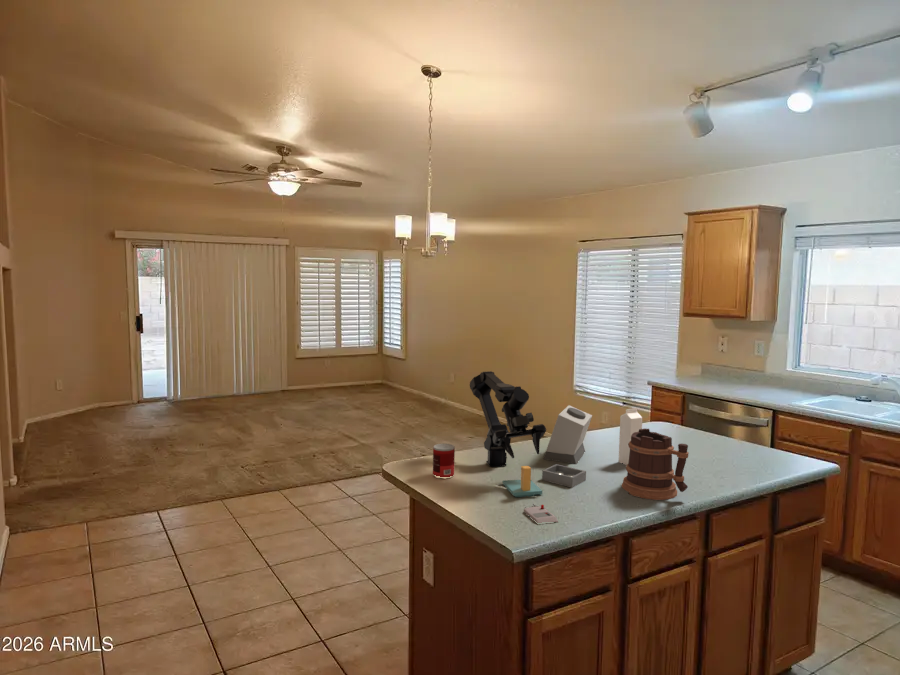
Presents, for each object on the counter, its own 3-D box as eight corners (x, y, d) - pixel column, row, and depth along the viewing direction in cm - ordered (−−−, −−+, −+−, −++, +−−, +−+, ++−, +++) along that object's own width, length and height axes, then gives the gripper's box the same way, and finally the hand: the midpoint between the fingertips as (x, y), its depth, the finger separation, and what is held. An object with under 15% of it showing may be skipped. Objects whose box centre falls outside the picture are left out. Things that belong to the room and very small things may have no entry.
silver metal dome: (562, 481, 203) (562, 476, 203) (568, 479, 206) (568, 473, 206) (572, 484, 201) (572, 478, 200) (578, 481, 204) (578, 476, 203)
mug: (671, 508, 182) (674, 446, 180) (610, 488, 199) (612, 431, 198) (700, 495, 194) (703, 437, 192) (640, 477, 211) (642, 424, 209)
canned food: (457, 474, 211) (458, 445, 210) (448, 480, 204) (448, 450, 203) (438, 471, 215) (439, 442, 214) (429, 477, 207) (429, 447, 206)
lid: (502, 486, 199) (503, 459, 198) (529, 484, 201) (530, 458, 201) (513, 498, 188) (514, 470, 187) (542, 496, 190) (543, 468, 189)
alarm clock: (554, 447, 249) (555, 401, 247) (590, 452, 243) (592, 405, 241) (542, 460, 230) (544, 410, 228) (582, 466, 224) (584, 414, 222)
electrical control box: (540, 529, 166) (541, 519, 165) (517, 509, 180) (518, 499, 180) (561, 526, 168) (561, 516, 167) (536, 507, 182) (537, 497, 182)
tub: (542, 481, 205) (542, 470, 205) (556, 474, 213) (556, 464, 212) (572, 489, 197) (572, 477, 197) (585, 482, 205) (586, 471, 205)
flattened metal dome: (550, 478, 206) (550, 473, 206) (555, 475, 209) (555, 470, 209) (559, 481, 204) (560, 475, 204) (565, 478, 207) (565, 472, 207)
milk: (618, 462, 230) (620, 407, 228) (629, 460, 232) (631, 406, 230) (629, 466, 224) (631, 410, 222) (640, 464, 227) (642, 409, 225)
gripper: (493, 409, 200) (505, 449, 191) (543, 402, 204) (557, 441, 195) (487, 424, 209) (499, 463, 200) (535, 417, 213) (548, 455, 204)
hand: (526, 455), depth 200 cm, fingers open, 9 cm apart
